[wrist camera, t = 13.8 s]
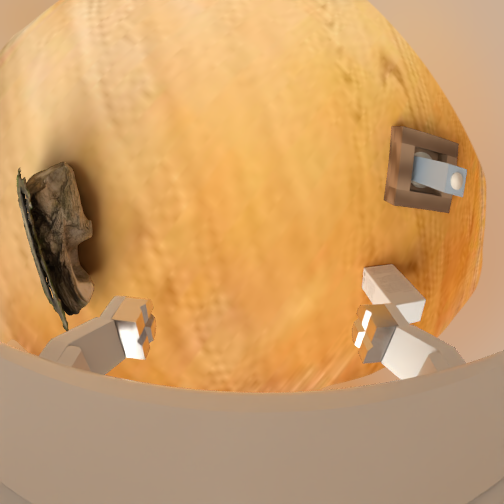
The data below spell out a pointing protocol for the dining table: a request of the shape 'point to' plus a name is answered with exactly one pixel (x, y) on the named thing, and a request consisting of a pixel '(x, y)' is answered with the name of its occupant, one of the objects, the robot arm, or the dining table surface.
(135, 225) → the dining table surface
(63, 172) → the hollow geode rock
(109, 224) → the dining table surface
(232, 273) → the dining table surface
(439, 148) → the socket block
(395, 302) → the skincare box
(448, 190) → the post
